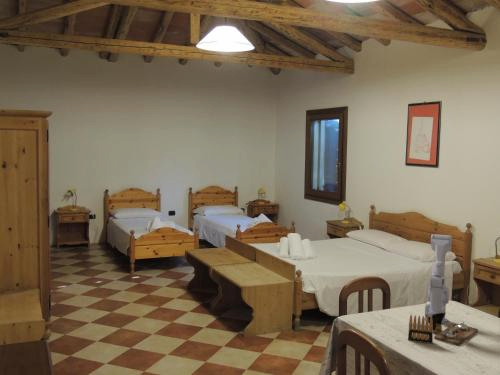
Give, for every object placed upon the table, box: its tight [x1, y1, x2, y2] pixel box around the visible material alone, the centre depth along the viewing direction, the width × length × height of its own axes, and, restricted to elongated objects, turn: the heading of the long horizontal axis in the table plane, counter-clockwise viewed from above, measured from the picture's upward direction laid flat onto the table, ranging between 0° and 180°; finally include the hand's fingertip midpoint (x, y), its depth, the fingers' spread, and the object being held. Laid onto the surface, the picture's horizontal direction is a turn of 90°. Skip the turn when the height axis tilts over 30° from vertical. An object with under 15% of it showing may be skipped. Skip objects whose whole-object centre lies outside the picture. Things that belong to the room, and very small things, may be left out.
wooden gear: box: [433, 323, 443, 334], centre depth 245 cm, size 6×6×3 cm
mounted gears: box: [444, 321, 470, 339], centre depth 239 cm, size 6×20×3 cm, turn 136°
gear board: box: [433, 322, 479, 346], centre depth 240 cm, size 11×24×1 cm, turn 136°
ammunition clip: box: [407, 314, 434, 344], centre depth 232 cm, size 11×2×12 cm, turn 71°
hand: (435, 328), depth 245 cm, fingers closed on wooden gear, 5 cm apart
